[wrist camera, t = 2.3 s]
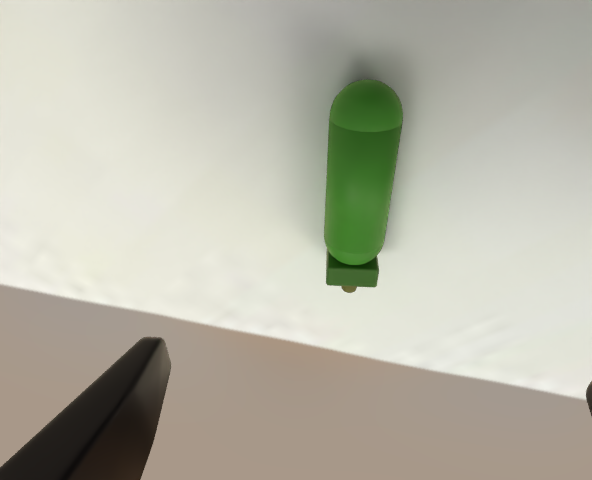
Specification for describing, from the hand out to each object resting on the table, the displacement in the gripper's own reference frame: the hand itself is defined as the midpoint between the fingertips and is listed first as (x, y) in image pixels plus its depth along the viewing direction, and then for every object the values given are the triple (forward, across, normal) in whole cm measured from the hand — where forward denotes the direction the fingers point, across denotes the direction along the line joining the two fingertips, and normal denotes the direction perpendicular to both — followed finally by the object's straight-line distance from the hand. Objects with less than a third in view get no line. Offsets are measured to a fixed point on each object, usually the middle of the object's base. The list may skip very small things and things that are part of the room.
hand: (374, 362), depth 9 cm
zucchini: (+8, 0, 0) cm, 8 cm away
